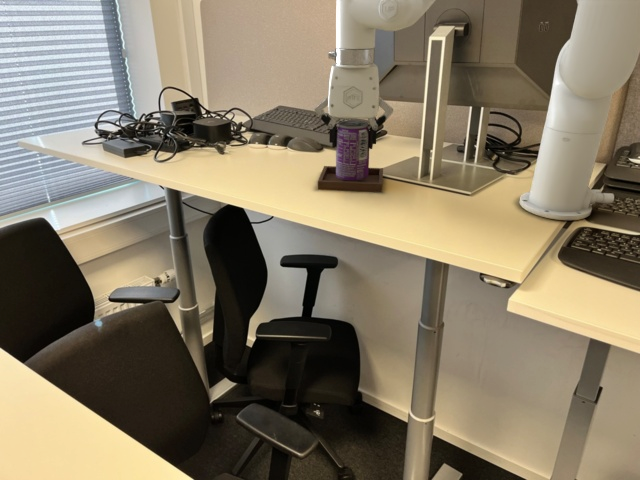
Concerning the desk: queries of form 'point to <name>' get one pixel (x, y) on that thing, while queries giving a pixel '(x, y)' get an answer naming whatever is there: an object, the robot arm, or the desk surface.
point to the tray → (332, 182)
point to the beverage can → (352, 150)
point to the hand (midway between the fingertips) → (352, 146)
